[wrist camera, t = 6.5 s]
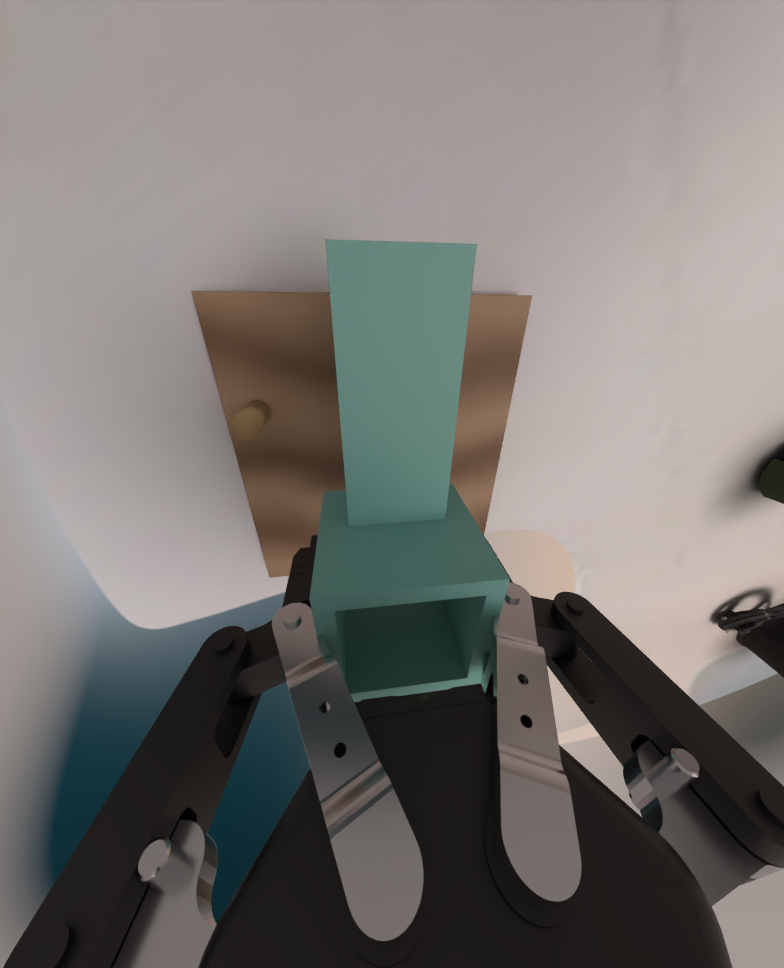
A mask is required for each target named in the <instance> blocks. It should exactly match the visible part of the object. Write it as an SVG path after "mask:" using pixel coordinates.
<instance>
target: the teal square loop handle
mask: <svg viewBox="0 0 784 968" xmlns="http://www.w3.org/2000/svg"><path fill="white" fill-rule="evenodd" d="M476 245H477V244H455V243H422V242H389V241H357V240H326V251H327V264H328V276H329V288H330V300H331V313H332V325H333V337H334V349H335V362H336V374H337V386H338V398H339V411H340V423H341V435H342V447H343V460H344V472H345V484H346V490H341V491H324V492H323V499H322V507H321V514H320V522H319V530H318V537H317V545H316V553H315V560H314V568H313V576H312V583H311V591H310V598H309V599H310V604H311V609H312V615H313V620H314V625H315V630H316V635H321V634H322V636H323V638H324V641H325V643H326V645H327V648H328V650H329V652H330V654H331V655H333V656H334V658H335V660H336V662H337V664H338V666H339V669H340V671H341V673H342V675H343V678H344V680H345V682H346V685H347V687H348V689H349V692H350V694H351V696H352V699H353V701H354V702H359V701H361V700H363V699H371V698H378V697H385V696H403V695H410V694H417V693H425V692H432V691H439V690H447V689H450V688H452V687H458V686H465V685H473V684H480V683H481V671H482V658H483V654H484V653H485V652H490V648H491V623H492V620H493V616H494V615H500V613H501V610H502V606H503V603H504V599H505V595H506V592H507V588H508V585H509V581H510V578H509V576H508V575H507V573H506V571H505V570H504V568H503V566H502V565H501V563H500V561H499V560H498V558H497V556H496V555H495V553H494V552H493V550H492V548H491V547H490V545H489V543H488V542H487V540H486V538H485V537H484V535H483V533H482V532H481V530H480V528H479V527H478V525H477V523H476V522H475V520H474V518H473V517H472V515H471V513H470V512H469V510H468V508H467V507H466V505H465V503H464V502H463V500H462V498H461V497H460V495H459V493H458V492H457V490H456V488H455V487H454V485H453V484H449V482H450V473H451V465H452V456H453V447H454V438H455V430H456V421H457V412H458V403H459V394H460V386H461V377H462V368H463V359H464V350H465V342H466V333H467V324H468V315H469V307H470V298H471V289H472V280H473V271H474V263H475V254H476Z"/></svg>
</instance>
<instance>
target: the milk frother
mask: <svg viewBox="0 0 784 968" xmlns="http://www.w3.org/2000/svg"><path fill="white" fill-rule="evenodd" d="M725 616H726V617H727V618H728V619H726V620H724V621H721V622H720V623H718V626H719V627H720V628H721V629H722V630H725V631H726V632H727V633H728V632H730V631H729V630H732V631H736V630H737V631H738V632H739V633H740V634H739V637H738V642H739V643H740V644H741V645H743V646H746V647H747V648H748V649H750V650H751V651H752V652H753V653H755V654H756V655H757V656H758V657H759V658H761V659H762V660H763V661H764V662H765V663H767V664H768V665H769V666H770V667H771V668H773V669H774V670H775V671H776V672H778V673H779V674H780V675H781V676H782V677H783V678H784V605H783V606H778V607H774V608H769V609H764V610H763V609H758V610H753V611H752V610H747V611H740V612H726V613H725Z"/></svg>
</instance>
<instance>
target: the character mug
mask: <svg viewBox="0 0 784 968" xmlns="http://www.w3.org/2000/svg"><path fill="white" fill-rule="evenodd" d="M758 488H759V490H760V491H761V493H762V494H763V496H764V497H767V498H770V499H772V500H775V501H778V502H780V503H783V504H784V462H783V461H780V460H777V459H774V460H772V461H771V462H770V463H769V465H768V466H767V467H766V469H765V470H764V471H763V473H762V474H761V476H760V480H759V484H758Z"/></svg>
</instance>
